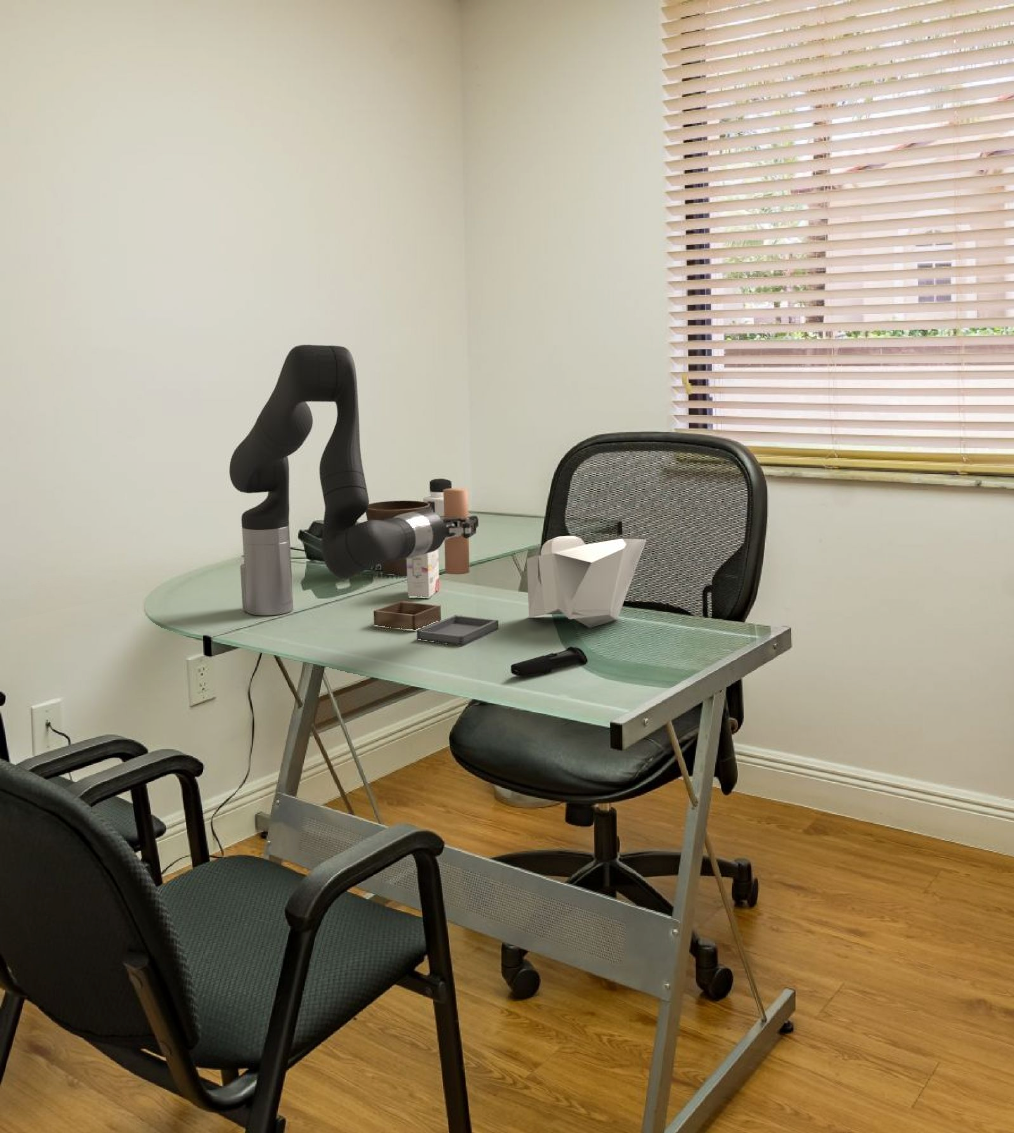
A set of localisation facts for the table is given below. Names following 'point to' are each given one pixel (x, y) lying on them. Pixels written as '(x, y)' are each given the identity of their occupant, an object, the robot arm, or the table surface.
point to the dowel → (458, 545)
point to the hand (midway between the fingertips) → (463, 520)
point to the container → (437, 495)
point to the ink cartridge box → (423, 574)
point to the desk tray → (458, 630)
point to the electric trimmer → (549, 662)
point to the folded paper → (582, 578)
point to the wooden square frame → (407, 615)
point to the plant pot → (387, 512)
